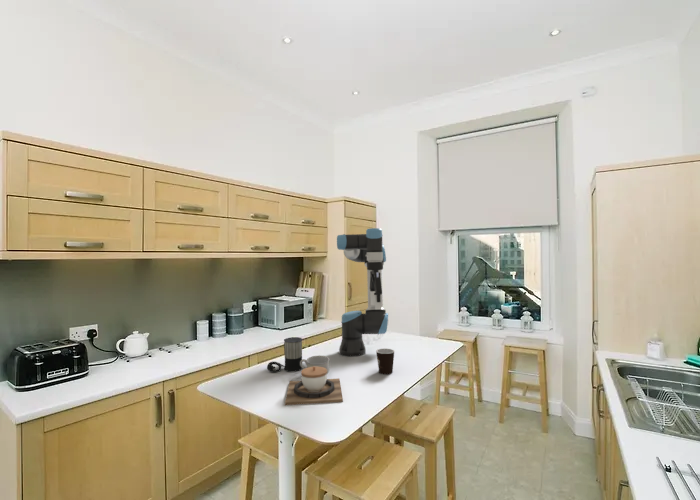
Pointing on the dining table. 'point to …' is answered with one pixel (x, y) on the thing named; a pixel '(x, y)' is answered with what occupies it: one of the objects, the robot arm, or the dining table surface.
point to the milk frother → (290, 355)
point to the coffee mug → (385, 360)
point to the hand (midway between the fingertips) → (375, 307)
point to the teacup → (316, 362)
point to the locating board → (314, 393)
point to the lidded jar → (314, 378)
